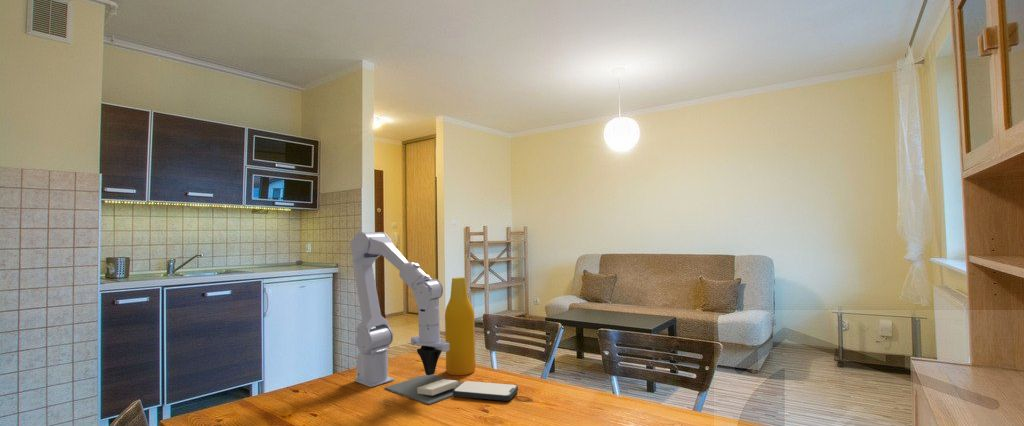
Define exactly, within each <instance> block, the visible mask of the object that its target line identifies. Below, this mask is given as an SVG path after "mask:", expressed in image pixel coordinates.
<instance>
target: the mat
mask: <svg viewBox="0 0 1024 426" xmlns="http://www.w3.org/2000/svg"><path fill="white" fill-rule="evenodd" d="M442 379H446V380H453V378H452V379H451V378H447V377H444V376H441V375H437V374H435V373H434V374H432V375H426V374H424V375H420V376H418V377H413V378H412V379H411V378H410V379H408V380H405V381H401V382H398V383H395V384H392V385H388V386H385V387H384V390H387V391H389V392H393V393H396V394H398V395H401V396H403V397H405V398H408V399H412V400H414V401H417V402H420V403H423V404H426V405H428V406H430V405H433V404H436V403H438V402H441V401H444V400H447V399H450V398H452V397H455V396H454V395H453V390H454V389H455V388H456V387H455V388H453V389H450V390H447V391H444V392H441V393H439V394H436V395H433V396H432V395H424V394H418V393H417V388H418V387H421V386H424V385H427V384H430V383H433V382H436V381H439V380H442ZM457 381H458V380H457ZM461 383H463V381H458V386H459V385H460V384H461Z"/></svg>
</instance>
